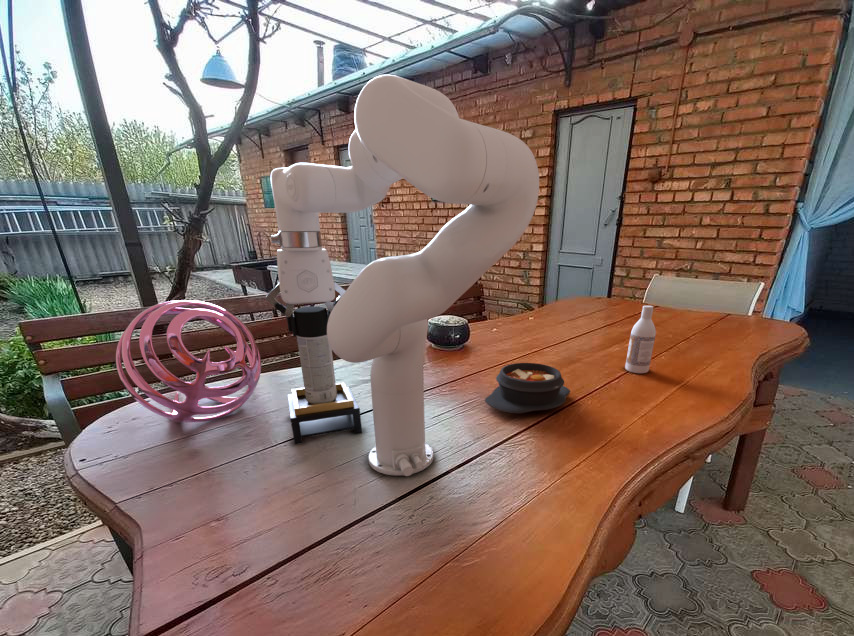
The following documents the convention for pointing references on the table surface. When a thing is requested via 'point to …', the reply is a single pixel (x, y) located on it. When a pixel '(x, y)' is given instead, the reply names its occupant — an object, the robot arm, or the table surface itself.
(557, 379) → the casserole
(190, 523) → the table surface
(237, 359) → the pink lattice ball
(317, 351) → the spray can
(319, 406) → the stand
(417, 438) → the robot arm
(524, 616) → the table surface
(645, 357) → the bath foam
